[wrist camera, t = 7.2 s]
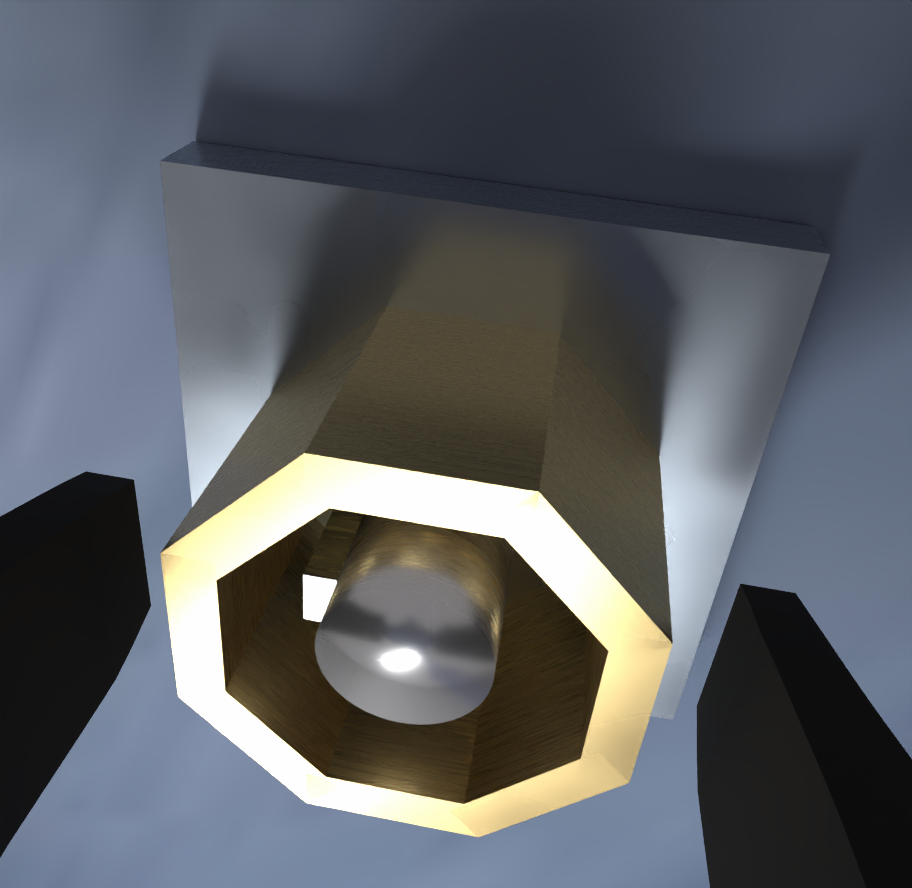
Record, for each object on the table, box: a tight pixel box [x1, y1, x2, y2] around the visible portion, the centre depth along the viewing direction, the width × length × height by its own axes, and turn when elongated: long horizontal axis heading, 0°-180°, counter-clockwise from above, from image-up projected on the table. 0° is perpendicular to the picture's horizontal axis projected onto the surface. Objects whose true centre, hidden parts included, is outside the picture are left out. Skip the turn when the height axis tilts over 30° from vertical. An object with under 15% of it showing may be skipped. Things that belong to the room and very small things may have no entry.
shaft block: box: [160, 141, 830, 725], centre depth 11 cm, size 8×8×4 cm
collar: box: [161, 307, 673, 837], centre depth 11 cm, size 5×5×4 cm
